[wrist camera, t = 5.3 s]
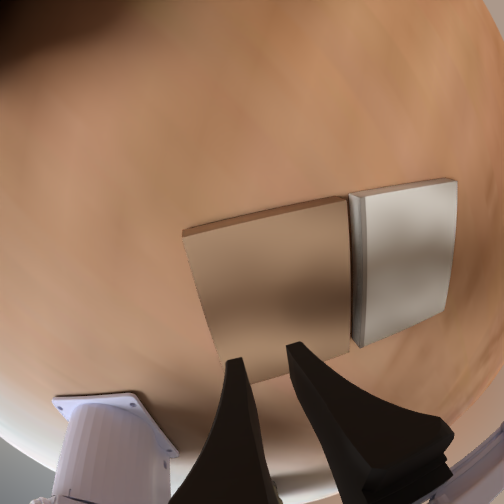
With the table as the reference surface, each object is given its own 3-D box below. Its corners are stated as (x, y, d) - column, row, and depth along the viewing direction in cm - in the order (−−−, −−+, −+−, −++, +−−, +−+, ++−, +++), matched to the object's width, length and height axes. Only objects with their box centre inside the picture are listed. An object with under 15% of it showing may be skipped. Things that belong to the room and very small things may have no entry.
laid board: (434, 303, 19) (444, 310, 18) (351, 337, 18) (359, 348, 17) (445, 177, 15) (457, 181, 14) (348, 193, 15) (360, 197, 13)
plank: (341, 341, 18) (349, 351, 17) (227, 376, 17) (230, 389, 16) (335, 195, 14) (346, 200, 13) (182, 230, 13) (181, 237, 12)
